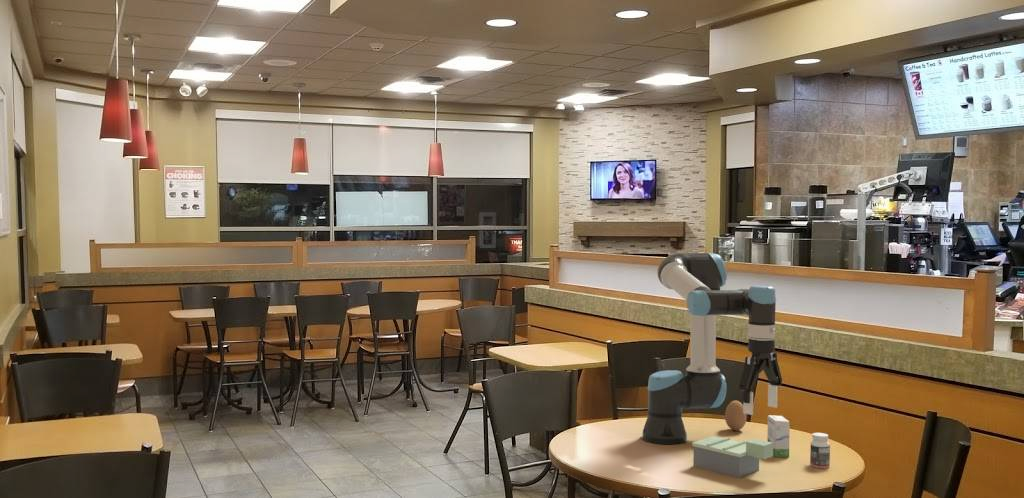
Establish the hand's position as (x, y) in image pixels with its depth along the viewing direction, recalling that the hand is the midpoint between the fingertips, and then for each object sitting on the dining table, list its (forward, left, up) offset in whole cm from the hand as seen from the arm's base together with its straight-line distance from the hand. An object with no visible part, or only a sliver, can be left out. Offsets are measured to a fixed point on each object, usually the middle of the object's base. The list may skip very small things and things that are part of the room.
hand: (760, 410), depth 250 cm
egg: (-36, +45, -21) cm, 61 cm away
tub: (-11, 0, -21) cm, 23 cm away
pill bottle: (+6, +26, -21) cm, 34 cm away
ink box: (-10, +29, -21) cm, 37 cm away
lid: (-8, 0, -14) cm, 16 cm away
